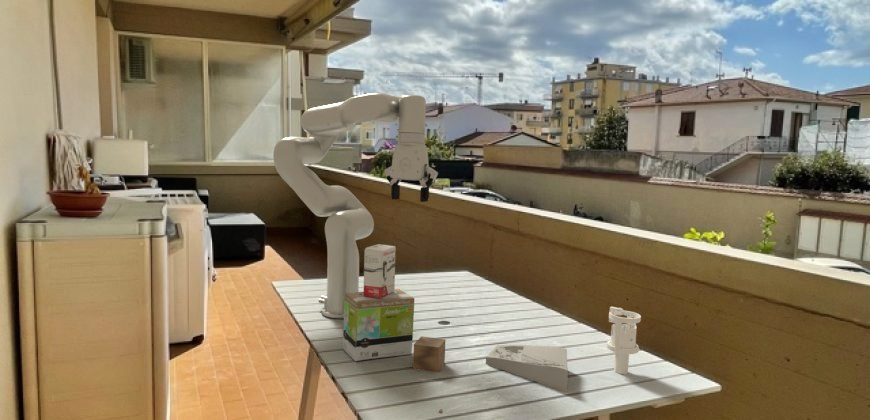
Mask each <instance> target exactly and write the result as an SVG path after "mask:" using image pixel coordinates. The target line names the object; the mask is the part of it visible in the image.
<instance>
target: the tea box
mask: <svg viewBox="0 0 870 420" xmlns="http://www.w3.org/2000/svg"><path fill="white" fill-rule="evenodd" d="M363 294H364V291H359V292H349V293H345V304H344V318H343V331H342V333H343V334H342V335H343V336H342V349H343V350H344V351H345V353H346V354H347V355H348V356H349V358H351V359H352V360H353V361H354V362H359V361H365V360H374V359H379V358H380V359H381V358H389V357H390V358H391V357H397V356H398V357H399V356H408V355H409V356H410V355H412V351H413V338H414V319H415V318H414V316H415V315H414V314H415V297H413V296H412V295H410V294H408V293H407V292H405V291H403V290H402V289H400V288H397V289H395V288H394V292H392V293H390V294H388V295H386V296H384V297H382V298H375V297H368V296H363Z"/></svg>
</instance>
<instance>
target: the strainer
mask: <svg viewBox="0 0 870 420" xmlns="http://www.w3.org/2000/svg"><path fill="white" fill-rule="evenodd" d="M622 316H625V317H622ZM641 320H642V316H641V314H639V313H637V312H635V311H630V310H624V308H622V307H616V306H609V312H608V322H609V323H612V325H611V329H610V339H609V340H607V341H606V349H608V350H609V351H611V352H613V353H615V354H614V366H613V367H614V368H613V371H614V373H616V374H620V375H627V374H628V373H629V358H630V355H635V354H638V353H639V348H640V347H639V345H638V344H637V343H636V342H637V324H638V323H640V322H641Z"/></svg>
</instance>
